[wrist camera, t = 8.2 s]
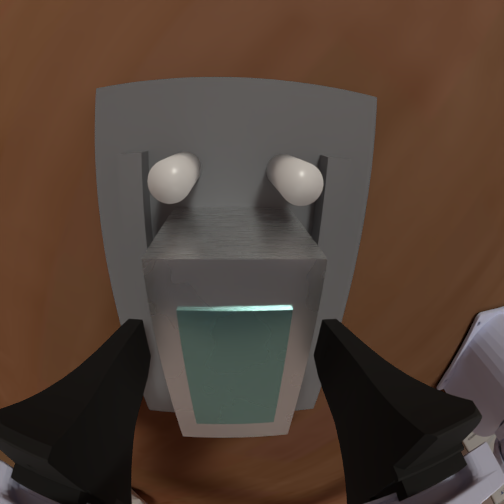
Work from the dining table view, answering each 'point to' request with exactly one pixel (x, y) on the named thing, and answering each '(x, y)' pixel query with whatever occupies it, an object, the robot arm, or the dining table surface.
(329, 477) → the dining table surface
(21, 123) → the dining table surface
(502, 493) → the hard drive box
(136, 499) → the geodesic sphere
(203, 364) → the block
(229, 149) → the grooved peg plate
